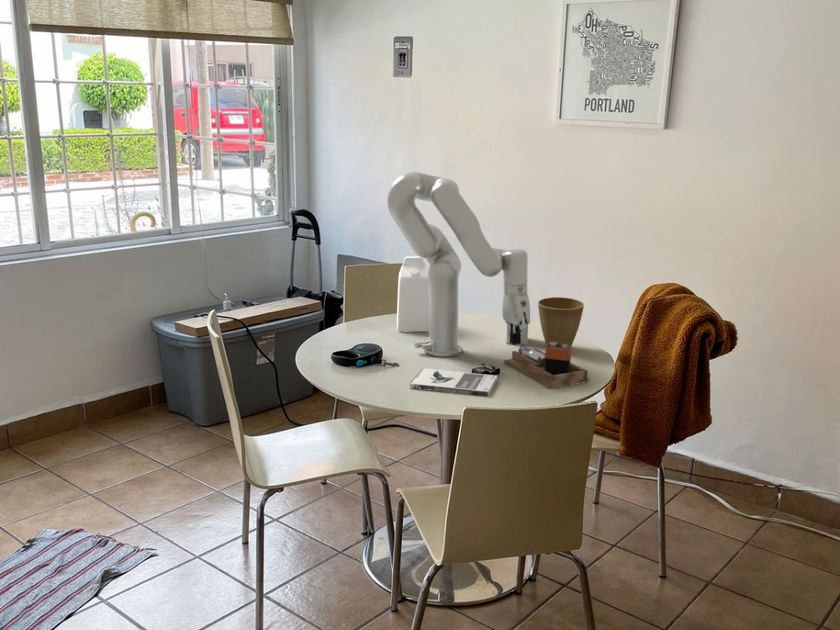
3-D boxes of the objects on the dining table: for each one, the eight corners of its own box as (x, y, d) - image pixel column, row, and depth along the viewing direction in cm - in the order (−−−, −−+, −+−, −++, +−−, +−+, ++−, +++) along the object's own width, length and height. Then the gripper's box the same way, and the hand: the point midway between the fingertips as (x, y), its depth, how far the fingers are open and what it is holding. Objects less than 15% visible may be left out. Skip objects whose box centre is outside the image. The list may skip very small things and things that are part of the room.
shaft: (535, 367, 239) (535, 354, 238) (517, 357, 248) (518, 345, 247) (546, 365, 241) (546, 353, 240) (528, 356, 250) (529, 344, 249)
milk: (428, 322, 291) (429, 253, 285) (431, 331, 280) (431, 260, 273) (396, 323, 291) (396, 254, 284) (397, 331, 280) (397, 260, 273)
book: (497, 382, 232) (497, 375, 231) (488, 398, 219) (488, 391, 218) (422, 374, 238) (422, 368, 237) (409, 389, 225) (409, 383, 225)
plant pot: (528, 345, 265) (529, 299, 260) (566, 340, 270) (568, 295, 266) (550, 358, 251) (552, 310, 247) (590, 353, 256) (593, 306, 252)
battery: (547, 371, 236) (548, 340, 233) (569, 374, 233) (571, 342, 231) (544, 376, 232) (545, 344, 229) (567, 379, 229) (568, 346, 227)
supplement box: (527, 344, 266) (529, 308, 263) (505, 343, 266) (507, 308, 263) (525, 337, 273) (526, 302, 270) (504, 337, 273) (505, 302, 270)
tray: (549, 388, 225) (549, 377, 224) (504, 363, 246) (504, 352, 245) (589, 381, 230) (589, 370, 229) (541, 357, 252) (542, 347, 251)
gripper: (538, 291, 244) (537, 347, 249) (513, 282, 257) (513, 336, 262) (517, 294, 241) (517, 351, 246) (493, 285, 254) (493, 339, 259)
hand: (515, 343), depth 254 cm, fingers closed
